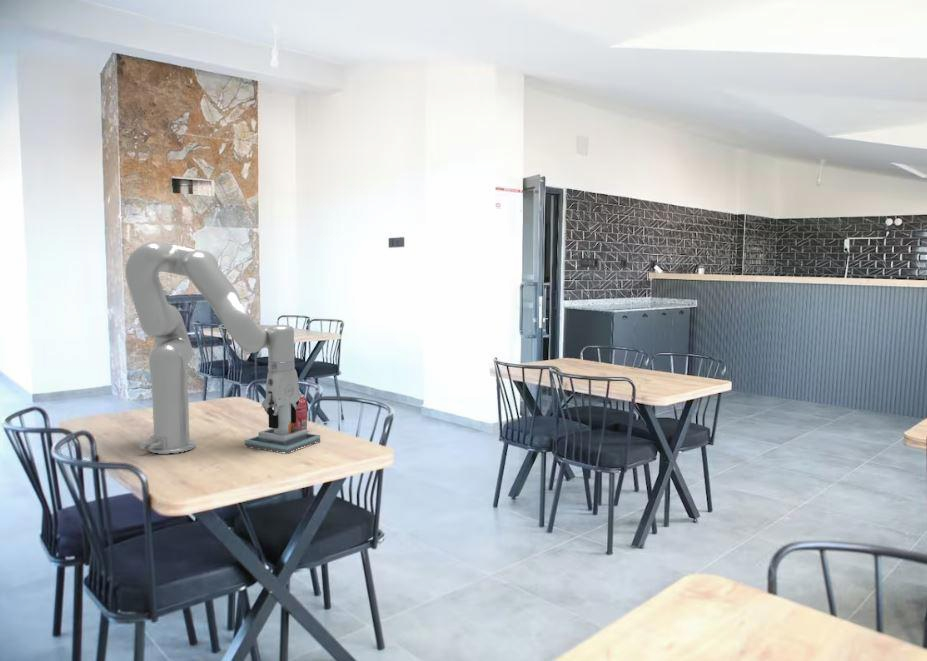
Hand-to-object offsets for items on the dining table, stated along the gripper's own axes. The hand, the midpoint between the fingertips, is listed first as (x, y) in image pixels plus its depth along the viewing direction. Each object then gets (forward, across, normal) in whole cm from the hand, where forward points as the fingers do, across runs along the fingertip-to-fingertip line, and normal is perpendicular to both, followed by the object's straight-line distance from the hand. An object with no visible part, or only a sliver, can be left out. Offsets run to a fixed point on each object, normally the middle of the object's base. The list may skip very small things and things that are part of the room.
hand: (282, 424), depth 202 cm
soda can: (+6, +13, +6) cm, 16 cm away
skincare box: (+3, 0, 0) cm, 3 cm away
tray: (+6, 0, 0) cm, 6 cm away
